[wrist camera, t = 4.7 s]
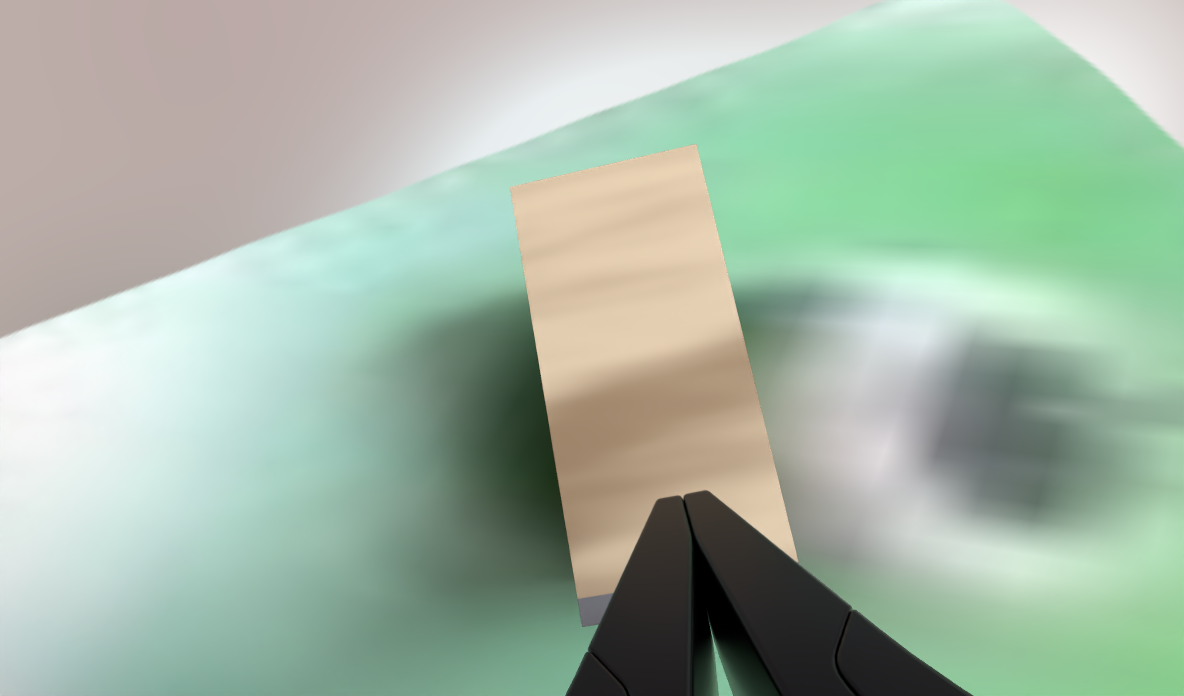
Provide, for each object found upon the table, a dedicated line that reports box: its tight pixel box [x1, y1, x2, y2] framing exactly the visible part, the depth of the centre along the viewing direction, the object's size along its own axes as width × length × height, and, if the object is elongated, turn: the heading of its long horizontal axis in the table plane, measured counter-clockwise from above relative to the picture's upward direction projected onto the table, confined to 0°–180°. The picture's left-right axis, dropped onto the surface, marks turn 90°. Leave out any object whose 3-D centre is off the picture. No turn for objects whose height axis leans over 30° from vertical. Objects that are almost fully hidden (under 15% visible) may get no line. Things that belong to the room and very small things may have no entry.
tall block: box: [510, 144, 798, 627], centre depth 16 cm, size 5×5×11 cm
